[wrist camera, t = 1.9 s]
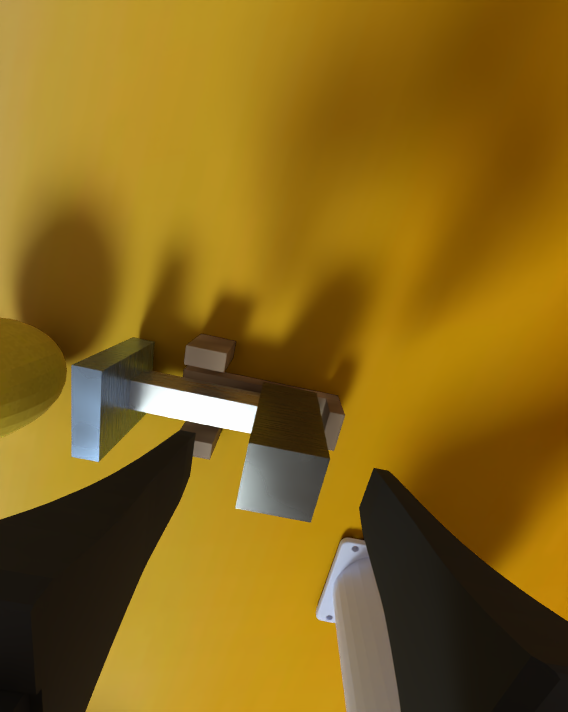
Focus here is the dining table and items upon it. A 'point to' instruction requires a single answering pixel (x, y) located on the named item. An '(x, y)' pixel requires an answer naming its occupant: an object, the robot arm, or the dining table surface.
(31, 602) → the robot arm
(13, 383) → the lemon
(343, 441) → the dining table surface
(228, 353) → the track
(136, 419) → the rod
